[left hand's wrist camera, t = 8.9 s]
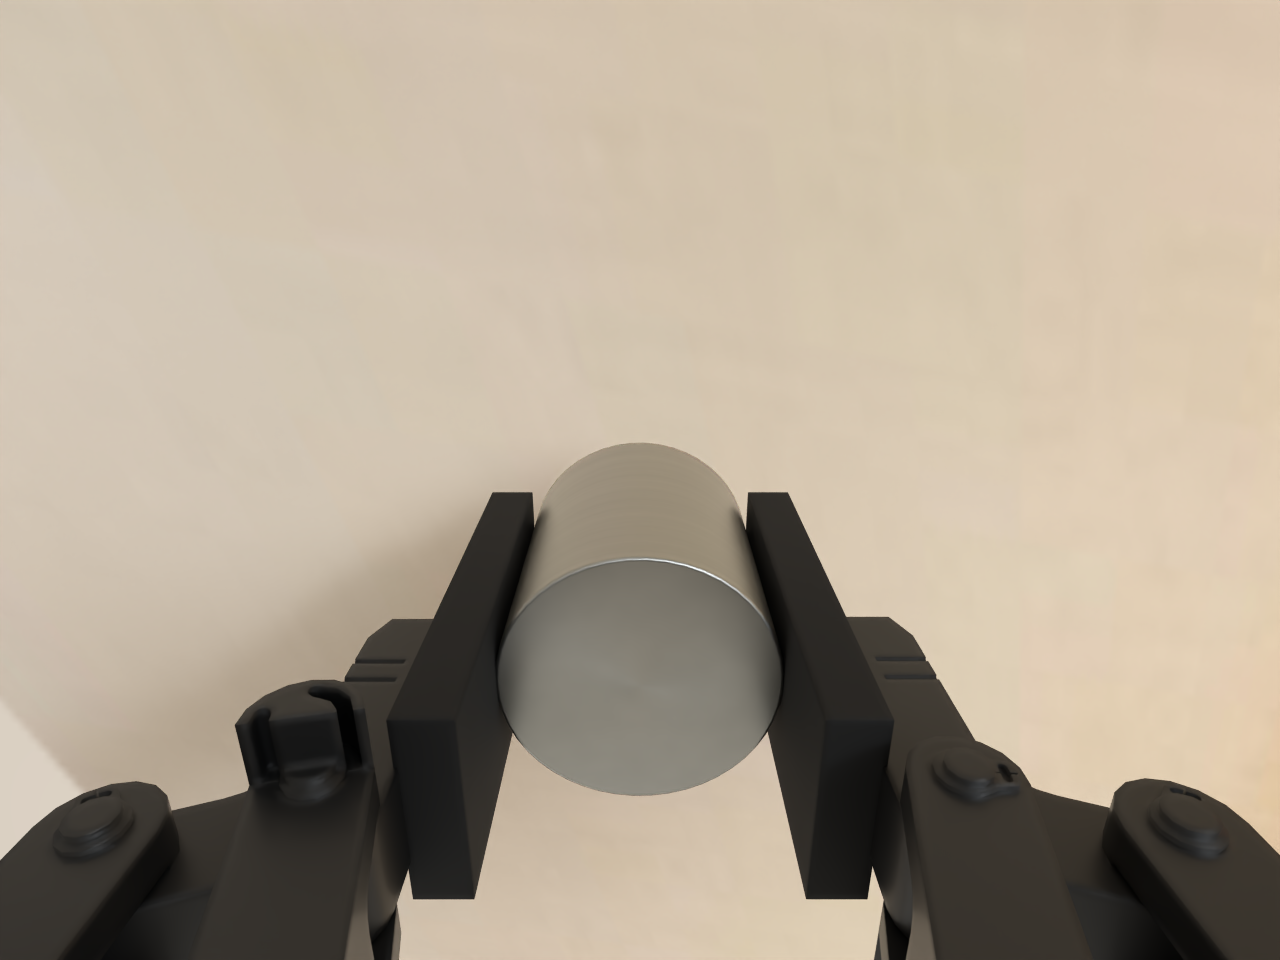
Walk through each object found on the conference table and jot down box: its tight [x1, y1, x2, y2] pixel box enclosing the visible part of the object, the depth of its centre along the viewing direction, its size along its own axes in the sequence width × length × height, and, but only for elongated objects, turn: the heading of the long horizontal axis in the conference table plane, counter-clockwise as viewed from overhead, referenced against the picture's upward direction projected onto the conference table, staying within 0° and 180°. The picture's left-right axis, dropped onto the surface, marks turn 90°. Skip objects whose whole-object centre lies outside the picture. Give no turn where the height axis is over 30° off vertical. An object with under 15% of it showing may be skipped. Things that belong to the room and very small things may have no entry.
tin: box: [496, 443, 784, 796], centre depth 13 cm, size 4×4×5 cm
